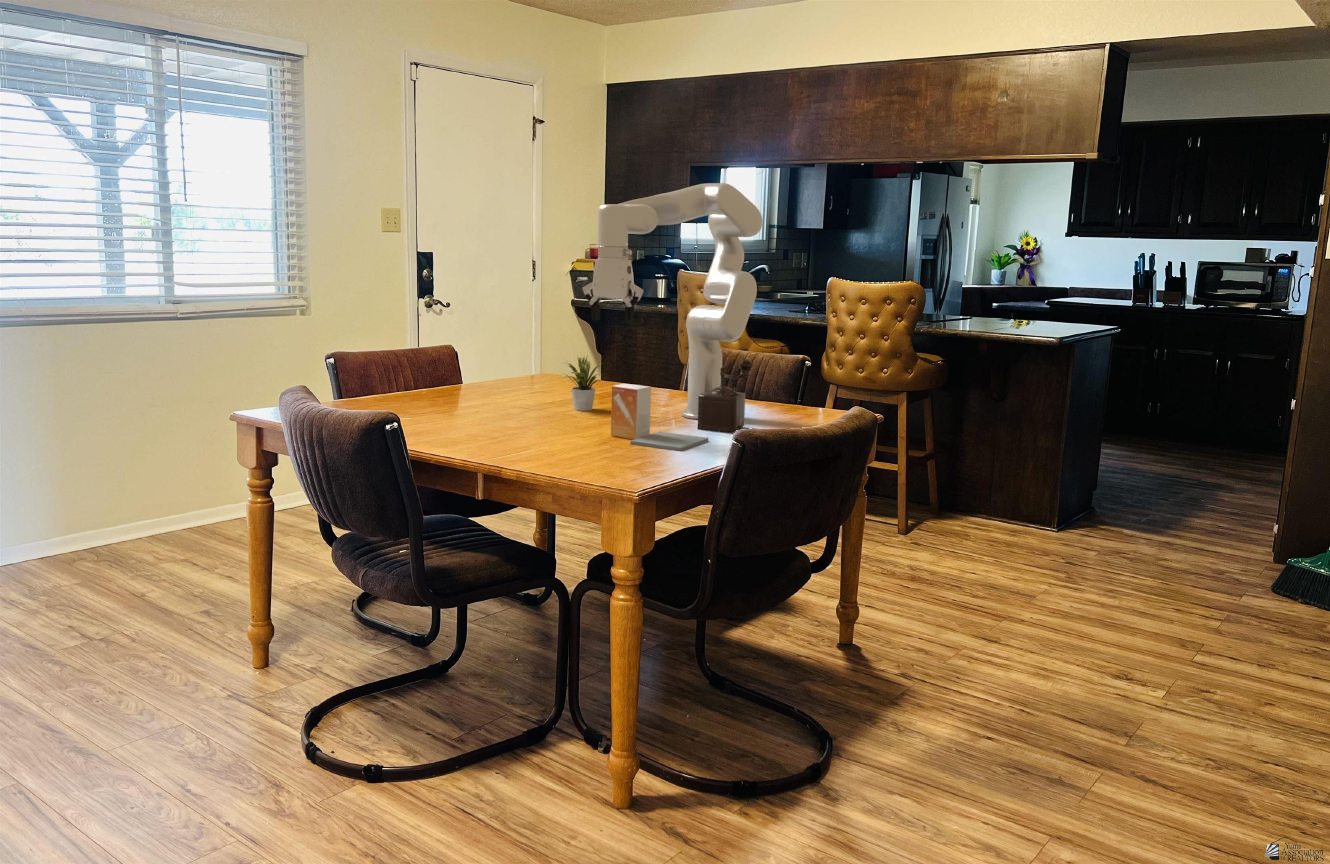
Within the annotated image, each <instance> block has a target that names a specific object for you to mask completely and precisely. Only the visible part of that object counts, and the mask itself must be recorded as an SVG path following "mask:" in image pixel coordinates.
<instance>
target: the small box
mask: <svg viewBox="0 0 1330 864" xmlns="http://www.w3.org/2000/svg"><path fill="white" fill-rule="evenodd" d="M651 396H652V387H651V386H647V385H641V384H630V383H621V384H616V385H611V411H610V412H611V414H610V423H611V424H610V436H612V437H619V438H623V439H629V440H635V439H638V438H641V437H644V436H647V435H651V403H652V402H651V401H652V400H651V399H652V397H651Z"/></svg>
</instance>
